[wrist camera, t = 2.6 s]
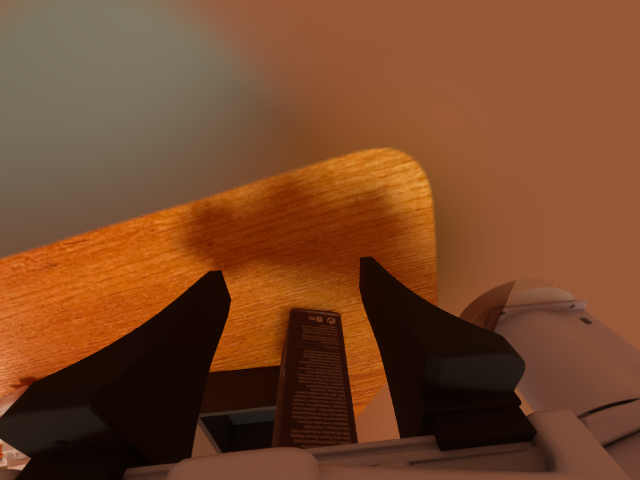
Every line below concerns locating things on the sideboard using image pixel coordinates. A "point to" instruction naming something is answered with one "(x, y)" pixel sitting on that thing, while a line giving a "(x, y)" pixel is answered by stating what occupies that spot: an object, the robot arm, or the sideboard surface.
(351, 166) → the sideboard surface
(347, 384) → the box
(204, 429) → the bin
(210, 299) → the robot arm
